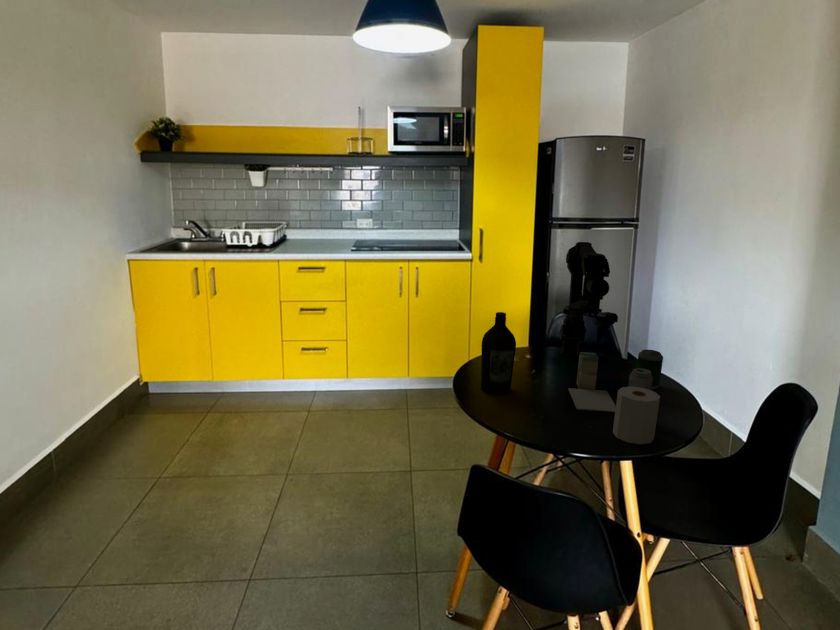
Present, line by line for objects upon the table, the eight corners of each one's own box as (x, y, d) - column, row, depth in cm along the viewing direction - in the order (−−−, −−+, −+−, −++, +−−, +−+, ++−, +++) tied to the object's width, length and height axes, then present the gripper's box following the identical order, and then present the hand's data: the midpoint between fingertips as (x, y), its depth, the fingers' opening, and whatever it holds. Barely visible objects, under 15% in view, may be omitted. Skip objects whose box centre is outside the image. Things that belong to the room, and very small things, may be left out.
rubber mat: (568, 389, 184) (568, 388, 184) (606, 391, 183) (606, 390, 183) (576, 409, 168) (577, 408, 168) (618, 412, 167) (618, 411, 167)
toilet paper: (605, 428, 157) (610, 387, 153) (639, 426, 159) (644, 385, 156) (626, 446, 147) (632, 402, 144) (662, 443, 149) (668, 399, 146)
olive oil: (475, 383, 186) (480, 309, 180) (507, 383, 187) (512, 309, 181) (483, 396, 176) (488, 317, 169) (516, 395, 177) (523, 317, 171)
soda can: (662, 391, 185) (667, 356, 182) (638, 390, 185) (643, 355, 182) (653, 383, 192) (658, 349, 189) (631, 382, 192) (635, 348, 189)
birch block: (576, 383, 189) (579, 352, 186) (591, 384, 189) (595, 352, 186) (579, 389, 184) (582, 356, 182) (594, 390, 184) (598, 357, 181)
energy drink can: (641, 427, 158) (649, 376, 154) (620, 420, 162) (627, 370, 158) (649, 420, 162) (656, 371, 159) (628, 414, 166) (635, 365, 162)
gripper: (553, 290, 192) (549, 335, 194) (597, 298, 176) (592, 347, 179) (576, 289, 197) (573, 333, 200) (621, 296, 182) (616, 344, 185)
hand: (587, 339), depth 191 cm, fingers open, 9 cm apart
